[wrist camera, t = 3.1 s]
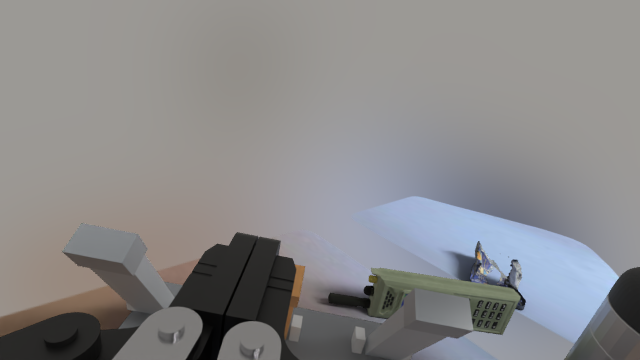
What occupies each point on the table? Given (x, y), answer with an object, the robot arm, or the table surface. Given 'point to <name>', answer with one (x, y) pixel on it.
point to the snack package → (485, 266)
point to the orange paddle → (295, 295)
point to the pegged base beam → (308, 333)
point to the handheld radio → (392, 286)
